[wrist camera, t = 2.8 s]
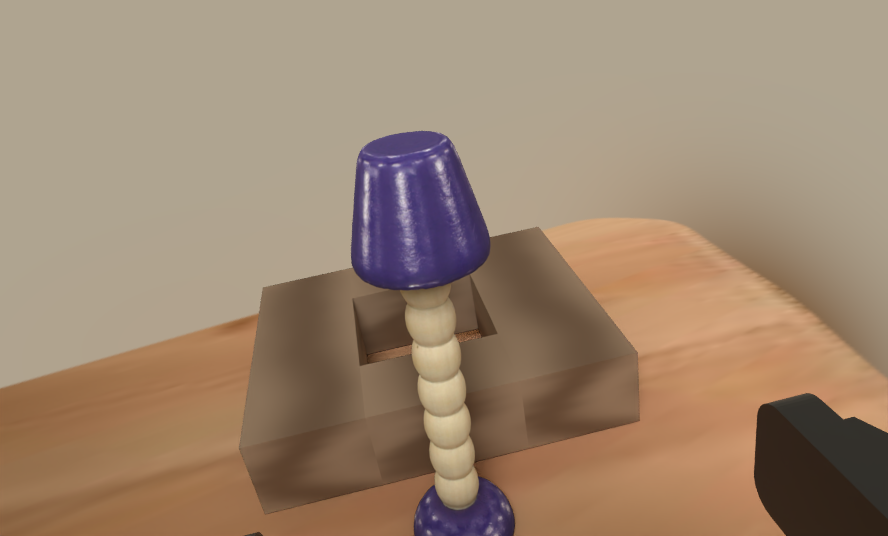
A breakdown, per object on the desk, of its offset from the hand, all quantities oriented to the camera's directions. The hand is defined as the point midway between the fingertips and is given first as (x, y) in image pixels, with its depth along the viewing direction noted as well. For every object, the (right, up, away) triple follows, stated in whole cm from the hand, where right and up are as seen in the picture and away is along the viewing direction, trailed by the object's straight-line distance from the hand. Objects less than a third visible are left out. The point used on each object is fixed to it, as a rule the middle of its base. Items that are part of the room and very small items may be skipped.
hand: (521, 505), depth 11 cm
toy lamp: (0, -7, +18) cm, 19 cm away
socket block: (-2, -2, +27) cm, 27 cm away
